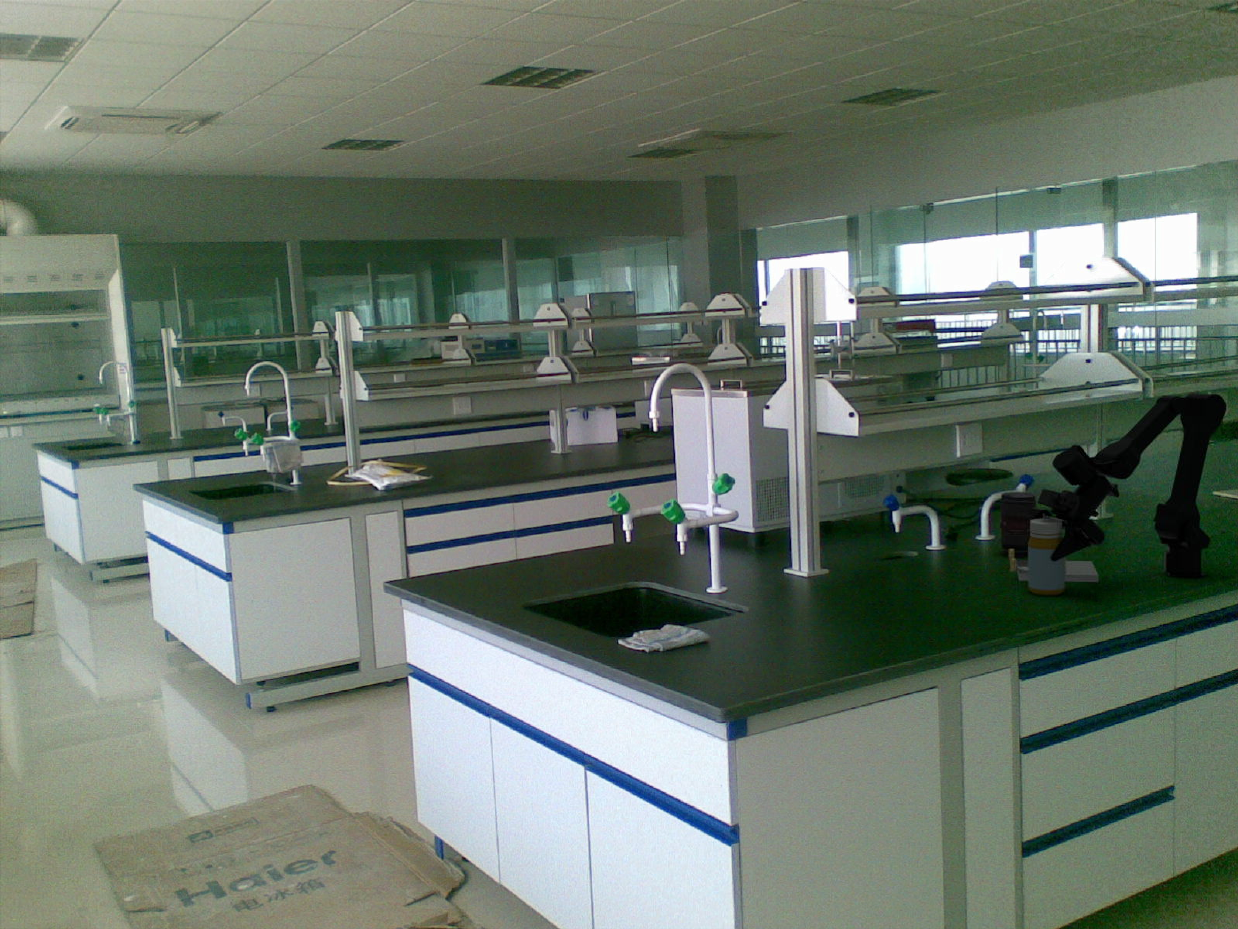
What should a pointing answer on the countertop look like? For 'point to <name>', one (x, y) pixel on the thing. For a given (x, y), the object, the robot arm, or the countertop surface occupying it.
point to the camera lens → (1016, 522)
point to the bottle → (1045, 558)
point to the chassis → (1073, 570)
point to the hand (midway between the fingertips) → (1040, 556)
